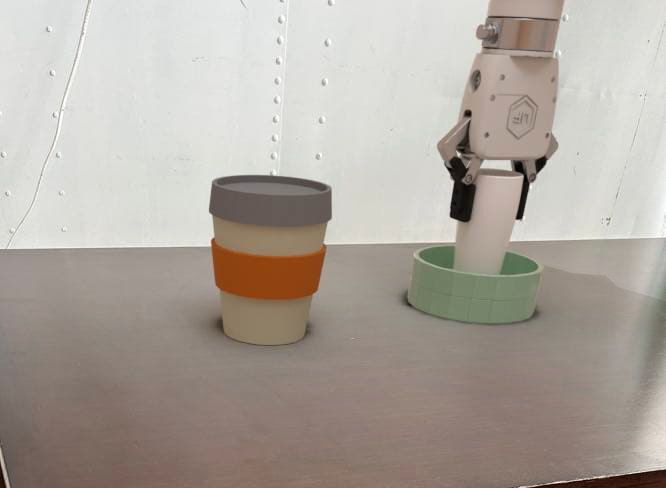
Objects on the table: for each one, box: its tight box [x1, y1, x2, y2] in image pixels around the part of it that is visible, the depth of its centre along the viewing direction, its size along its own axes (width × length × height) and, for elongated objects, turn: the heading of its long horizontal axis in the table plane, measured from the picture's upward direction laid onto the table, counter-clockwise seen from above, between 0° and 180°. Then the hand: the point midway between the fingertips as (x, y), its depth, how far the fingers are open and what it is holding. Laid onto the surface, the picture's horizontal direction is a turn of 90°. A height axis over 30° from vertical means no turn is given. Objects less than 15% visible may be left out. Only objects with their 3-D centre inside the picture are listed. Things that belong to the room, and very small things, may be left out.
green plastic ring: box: [407, 244, 545, 324], centre depth 99 cm, size 15×15×6 cm
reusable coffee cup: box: [208, 174, 333, 346], centre depth 86 cm, size 13×13×15 cm
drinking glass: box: [453, 167, 524, 275], centre depth 96 cm, size 7×7×15 cm
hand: (486, 217), depth 95 cm, fingers closed on drinking glass, 6 cm apart
